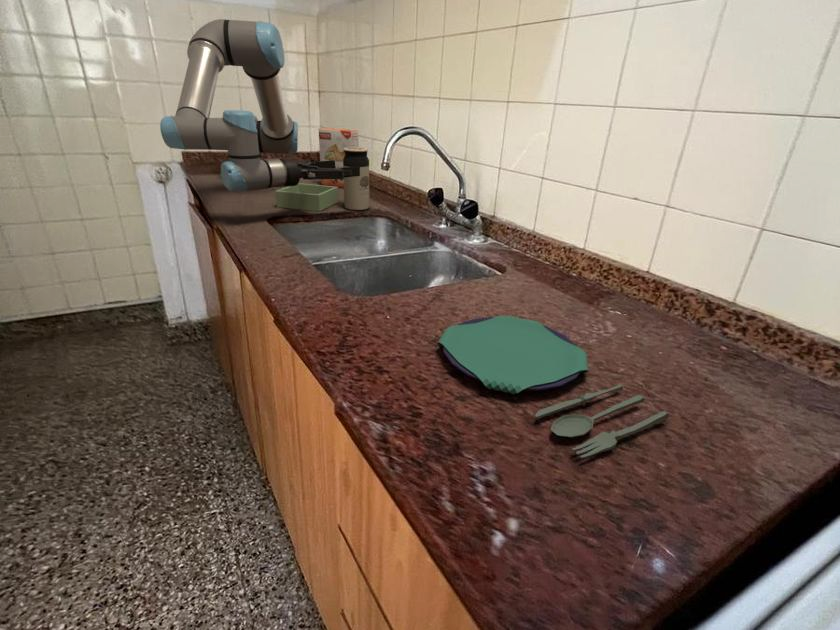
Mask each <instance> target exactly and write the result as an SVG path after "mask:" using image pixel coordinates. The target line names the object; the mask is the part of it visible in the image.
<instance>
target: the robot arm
mask: <svg viewBox="0 0 840 630" xmlns="http://www.w3.org/2000/svg"><path fill="white" fill-rule="evenodd" d="M186 55H187V59H188V64H187V68H186V71H185V75H184V80H183V84H182V88H181V92H180V95H179V96H180V97H179V100H178V105H177V109H176V112H175V114H174V115H170V116H164V117H162V118H161V120H160V124H159V125H160V126H159V127H160V134H161V137H162V140H163V142H164V144H165V145H166V146H167V147H168V148H170V149H177V150H184V151H187V150H191V151H192V150H193V151H195V150H197V151H198V150H199V151H227V153H228V154H227V155H228V160H227V161H224V162H222V163H221V165H220V176H221V180H222V183H223V186H224V187H225V188H226V189H227V190H228V191H230V192H248V191H256V190H266V189H271V190H272V191H276V190H275V189H276V188H285V187H289V186H296V185H298V183H300V180H301V179H302V180H307V181H308V180H309V181H312V180H313V181H314V180H321V179H340V181H342V179H344V178H345V177H356V176H360V167H359V166H355V167H342V168H339V169H335V160H331V161H320V160H317V161H315V158H310V160H305V161H300V162H299V161H298V162H297V161H296V160H295V159H294V158H293V157H285V158H265V159H262V154H278V155H279V154H281V155H290V154H296V153H297V152H298V145H299V142H298V139H299V137H298V136H299V135H298V134H299V133H298V132H299V123H298V122H297V121H294V120H292V117H291V116H290V115H289V114H287V109H286V104H285V101H284V94H283V91H282V86H281V81H280V77H279V74H280V72H281V69H283V68H284V67H285V51H284V46H283V41H282V37H281V34H280V31H279V29H278V28H277V26H276V25H275V24H273V23H271V22H265V21H263V20H262V21H261V20H258V21H255V20H254V21H253V20H237V19H224V18H223V19H222V18H218V19H214V20H211V21H209V22H207V23H205V24H204V25H202V26H201V27H200V28H199V29H198V30H197V31H196V32H195V33H194V34H193V36H192V37H191V38H190V41H189V42H188V45H187V49H186ZM226 66H232V67H242V70H243V72H244V74H245V75H246V76H247V77H249V78H250V80H251V83H252V85H253V86H252V87H253V90H254V93H255V96H256V100H257V104H258V106H259V107H258V108H259V110H260V113H261V116H262V117H261V120H259V118H258V117H257V116H256V115H254V113H253V112H252V111H251V110H242V109H241V110H240V109H238V110H237V109H225V110H223V112H222V117H210V116H211V111H212V106H213V102H214V97H215V93H216V92H215V91H216V87H217V82H218V78H219V73H220V72H222V71H223V70H224V68H225V67H226Z"/></svg>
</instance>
